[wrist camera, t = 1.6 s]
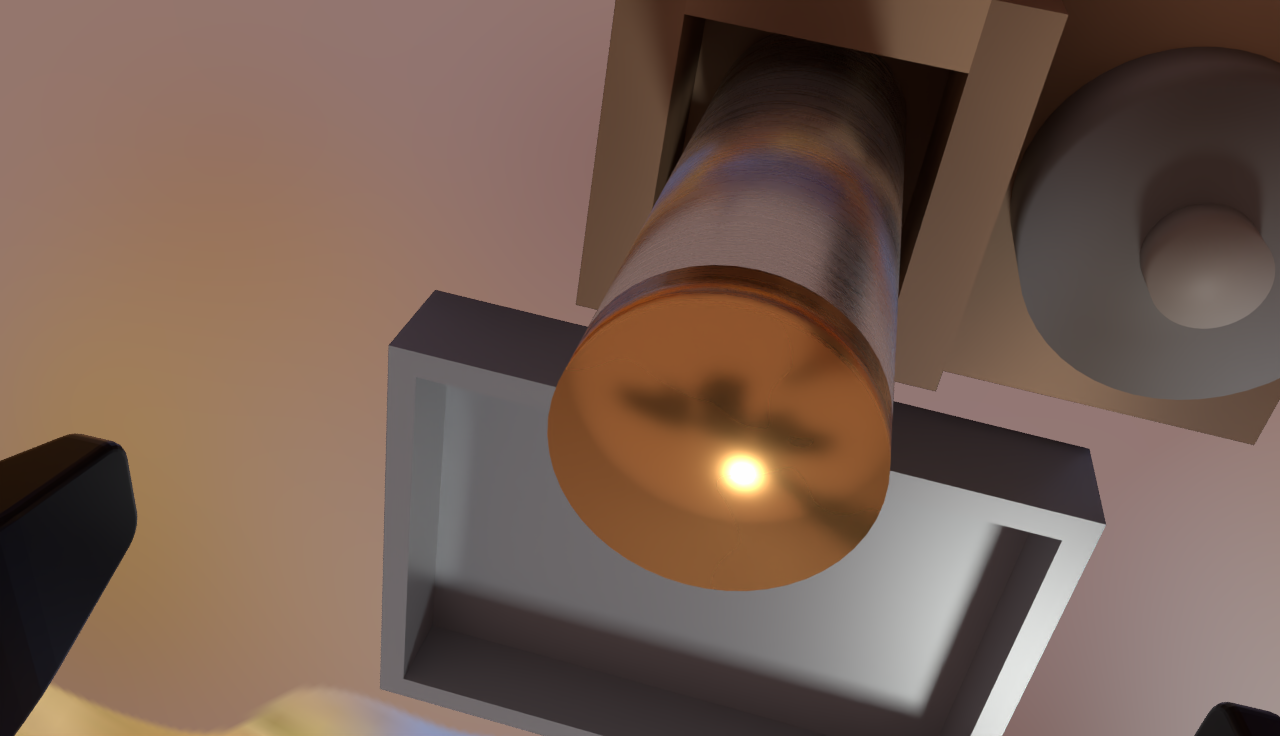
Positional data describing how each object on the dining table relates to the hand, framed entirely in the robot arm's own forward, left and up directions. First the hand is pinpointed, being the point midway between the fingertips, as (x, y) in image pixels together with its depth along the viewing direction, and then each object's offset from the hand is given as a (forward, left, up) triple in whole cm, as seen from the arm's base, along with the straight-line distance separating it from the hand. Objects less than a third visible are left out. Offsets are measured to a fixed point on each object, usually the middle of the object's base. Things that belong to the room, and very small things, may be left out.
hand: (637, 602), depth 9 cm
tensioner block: (-3, 0, -14) cm, 14 cm away
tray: (0, +11, -14) cm, 17 cm away
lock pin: (0, 0, -12) cm, 12 cm away
